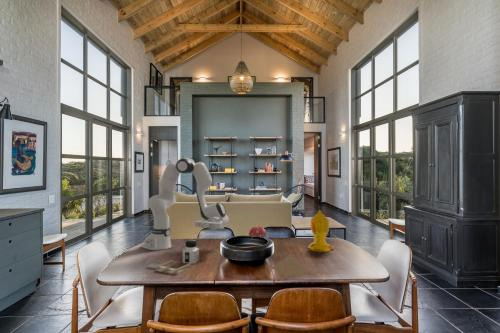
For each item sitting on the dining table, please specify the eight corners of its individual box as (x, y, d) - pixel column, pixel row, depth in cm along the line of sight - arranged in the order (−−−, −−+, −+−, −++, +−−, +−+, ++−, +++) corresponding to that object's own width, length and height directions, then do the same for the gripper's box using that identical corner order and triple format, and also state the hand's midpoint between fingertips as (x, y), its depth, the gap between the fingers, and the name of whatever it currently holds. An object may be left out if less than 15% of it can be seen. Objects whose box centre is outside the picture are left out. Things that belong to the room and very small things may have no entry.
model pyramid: (295, 264, 174) (295, 248, 174) (311, 274, 158) (311, 256, 158) (270, 268, 168) (270, 250, 168) (284, 278, 152) (284, 259, 152)
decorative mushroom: (257, 242, 226) (257, 223, 226) (270, 245, 217) (270, 225, 217) (245, 245, 216) (245, 225, 217) (258, 249, 207) (258, 228, 207)
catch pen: (156, 270, 161) (156, 266, 161) (172, 264, 173) (172, 260, 173) (176, 274, 155) (176, 270, 155) (191, 267, 167) (191, 263, 167)
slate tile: (146, 269, 165) (146, 266, 165) (151, 266, 171) (151, 263, 171) (155, 270, 164) (155, 267, 164) (161, 266, 169) (161, 264, 169)
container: (194, 264, 173) (194, 242, 174) (182, 263, 175) (182, 241, 175) (199, 260, 181) (199, 239, 181) (187, 259, 182) (187, 238, 183)
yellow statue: (332, 245, 219) (332, 208, 219) (333, 254, 195) (333, 212, 196) (309, 243, 223) (309, 207, 224) (307, 252, 200) (307, 211, 200)
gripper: (201, 217, 206) (189, 220, 194) (226, 219, 197) (215, 222, 185) (201, 226, 206) (189, 229, 194) (226, 228, 197) (215, 232, 185)
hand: (202, 226), depth 189 cm, fingers closed
